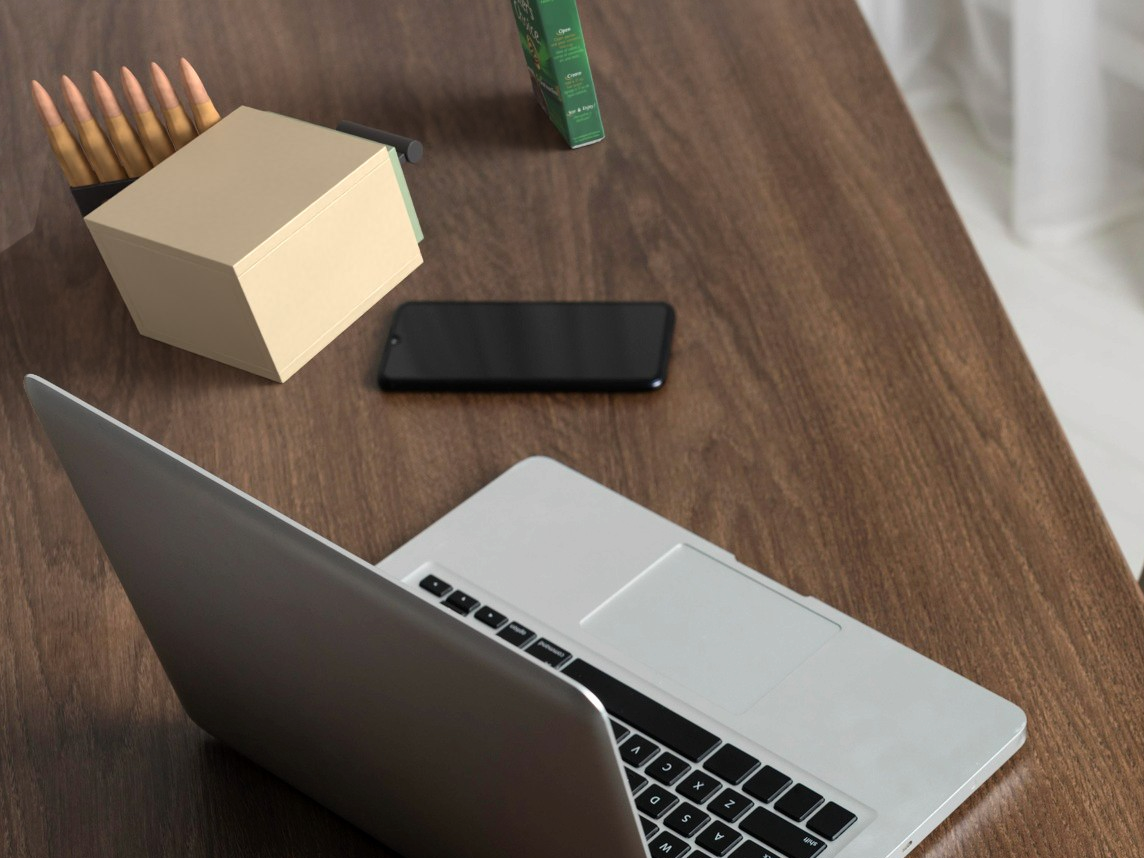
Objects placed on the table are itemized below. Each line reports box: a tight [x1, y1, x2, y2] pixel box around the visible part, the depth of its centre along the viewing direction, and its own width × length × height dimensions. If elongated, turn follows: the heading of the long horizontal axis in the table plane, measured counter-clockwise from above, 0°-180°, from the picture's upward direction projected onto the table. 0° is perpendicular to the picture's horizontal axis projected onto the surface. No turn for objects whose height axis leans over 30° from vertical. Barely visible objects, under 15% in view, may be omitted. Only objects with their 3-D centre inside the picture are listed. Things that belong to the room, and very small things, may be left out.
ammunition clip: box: [30, 56, 223, 258], centre depth 110 cm, size 11×2×12 cm, turn 103°
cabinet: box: [82, 104, 424, 384], centre depth 107 cm, size 14×12×9 cm
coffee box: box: [509, 0, 606, 149], centre depth 119 cm, size 8×3×13 cm, turn 29°
